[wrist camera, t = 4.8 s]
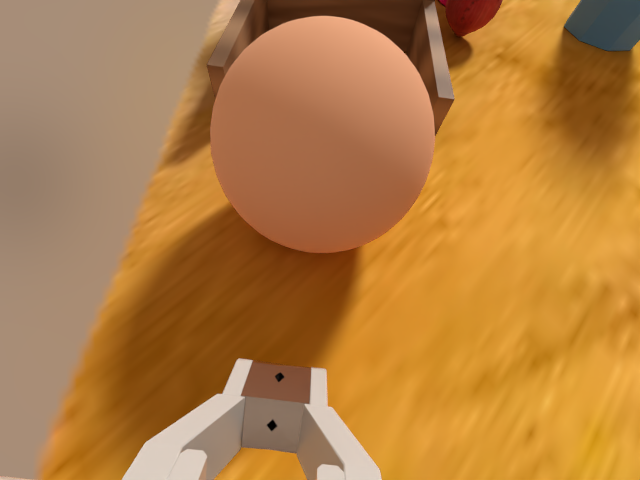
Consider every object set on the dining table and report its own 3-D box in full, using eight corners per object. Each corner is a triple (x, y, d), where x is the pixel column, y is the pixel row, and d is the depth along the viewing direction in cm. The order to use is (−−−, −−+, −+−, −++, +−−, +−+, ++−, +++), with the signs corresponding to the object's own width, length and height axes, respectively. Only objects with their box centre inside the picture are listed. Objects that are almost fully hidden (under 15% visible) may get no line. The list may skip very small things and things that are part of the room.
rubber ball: (427, 224, 22) (545, 61, 12) (299, 323, 18) (309, 203, 7) (325, 132, 26) (347, -48, 16) (201, 194, 22) (119, 0, 11)
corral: (427, 150, 26) (468, 72, 20) (221, 122, 26) (199, 34, 20) (415, 47, 35) (441, -29, 29) (260, 25, 34) (254, -57, 28)
